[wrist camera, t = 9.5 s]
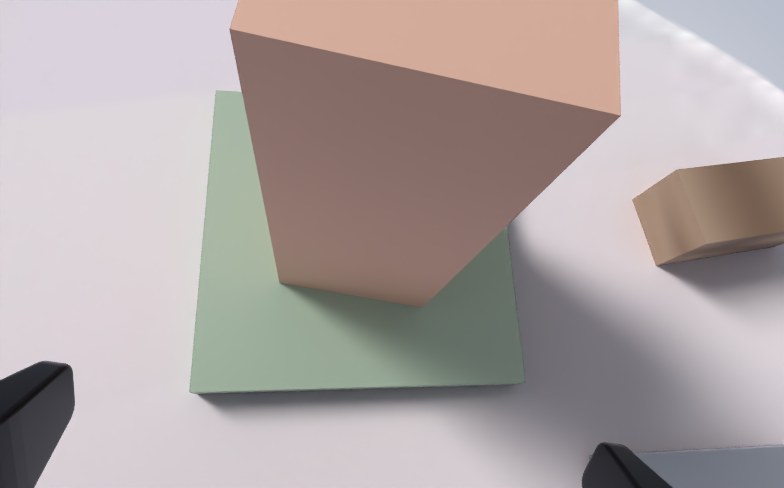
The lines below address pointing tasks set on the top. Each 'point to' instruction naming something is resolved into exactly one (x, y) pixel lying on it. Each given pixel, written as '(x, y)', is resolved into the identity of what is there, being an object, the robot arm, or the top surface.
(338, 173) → the terracotta column
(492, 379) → the green square tile
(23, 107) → the top surface
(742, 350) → the top surface
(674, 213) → the walnut brick
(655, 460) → the slate tile
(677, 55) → the top surface
